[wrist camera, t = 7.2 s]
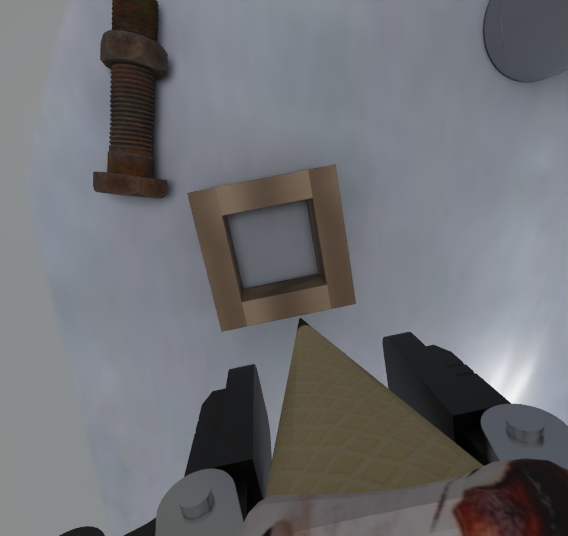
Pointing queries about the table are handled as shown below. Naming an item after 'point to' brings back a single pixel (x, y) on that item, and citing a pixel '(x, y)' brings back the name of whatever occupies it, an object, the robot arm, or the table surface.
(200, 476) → the robot arm
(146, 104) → the bolt
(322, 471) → the ice cream cone
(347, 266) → the wooden square frame
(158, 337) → the table surface
